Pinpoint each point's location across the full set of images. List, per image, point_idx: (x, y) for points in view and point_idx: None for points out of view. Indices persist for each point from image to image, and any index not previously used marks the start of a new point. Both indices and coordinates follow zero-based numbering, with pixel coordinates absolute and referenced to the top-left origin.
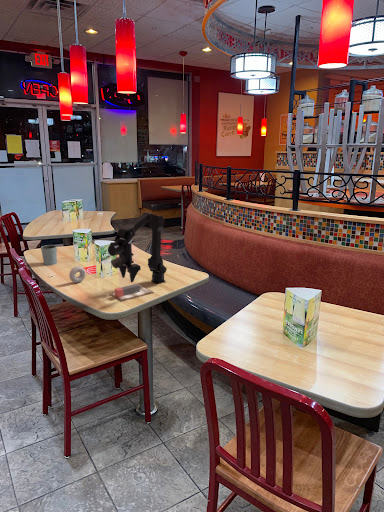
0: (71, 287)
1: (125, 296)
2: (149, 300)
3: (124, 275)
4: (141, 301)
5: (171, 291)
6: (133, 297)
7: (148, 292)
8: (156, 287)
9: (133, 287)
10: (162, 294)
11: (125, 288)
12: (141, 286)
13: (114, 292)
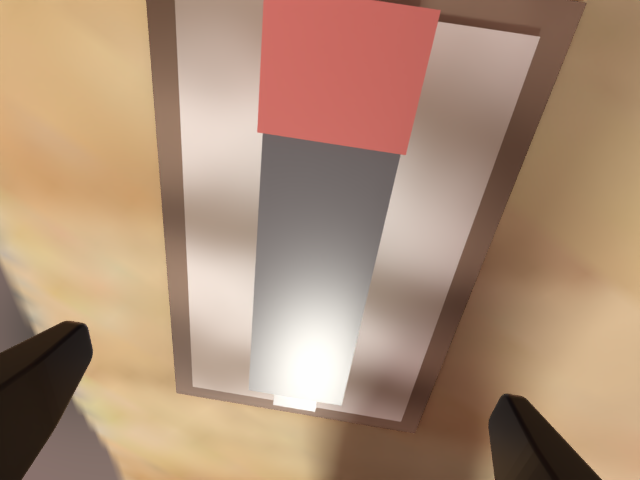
0: None
1: (250, 112)
2: (7, 246)
3: (501, 474)
4: (15, 169)
5: (121, 464)
6: (161, 173)
7: (193, 361)
8: (279, 464)
9: (255, 310)
10: (98, 399)
11: (291, 200)
12: (274, 397)
13: (540, 102)
